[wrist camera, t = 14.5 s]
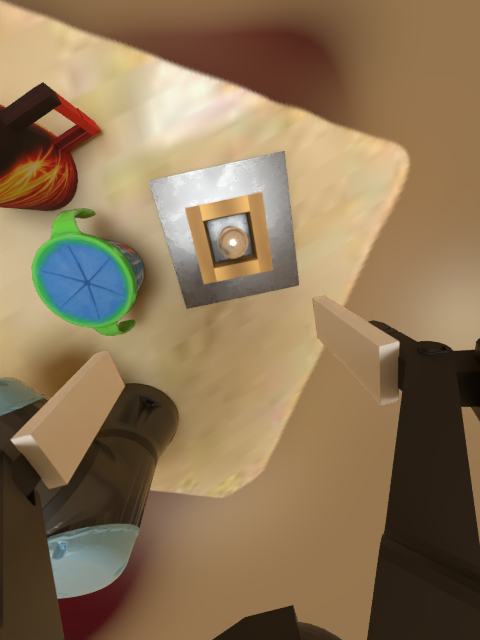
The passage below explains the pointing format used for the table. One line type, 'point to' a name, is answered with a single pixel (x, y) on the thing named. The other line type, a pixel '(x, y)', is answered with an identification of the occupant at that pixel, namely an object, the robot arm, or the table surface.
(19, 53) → the table surface
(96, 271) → the snack cup
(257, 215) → the square wooden frame
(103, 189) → the table surface
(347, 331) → the robot arm
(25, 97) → the mug
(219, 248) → the post stand
